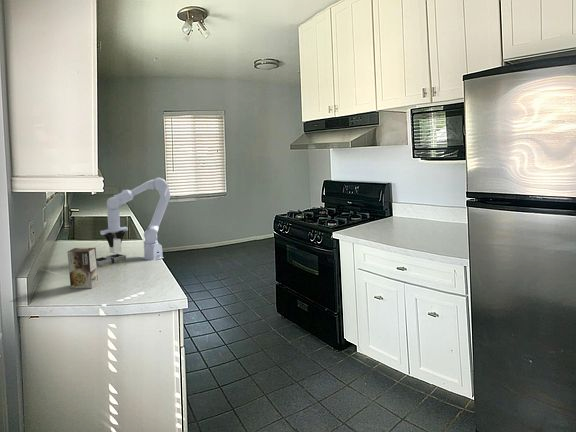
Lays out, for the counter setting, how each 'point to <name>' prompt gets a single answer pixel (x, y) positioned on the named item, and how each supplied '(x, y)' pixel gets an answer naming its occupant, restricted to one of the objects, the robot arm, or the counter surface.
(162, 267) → the counter surface
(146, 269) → the counter surface
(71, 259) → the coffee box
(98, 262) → the panel
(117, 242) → the plug
